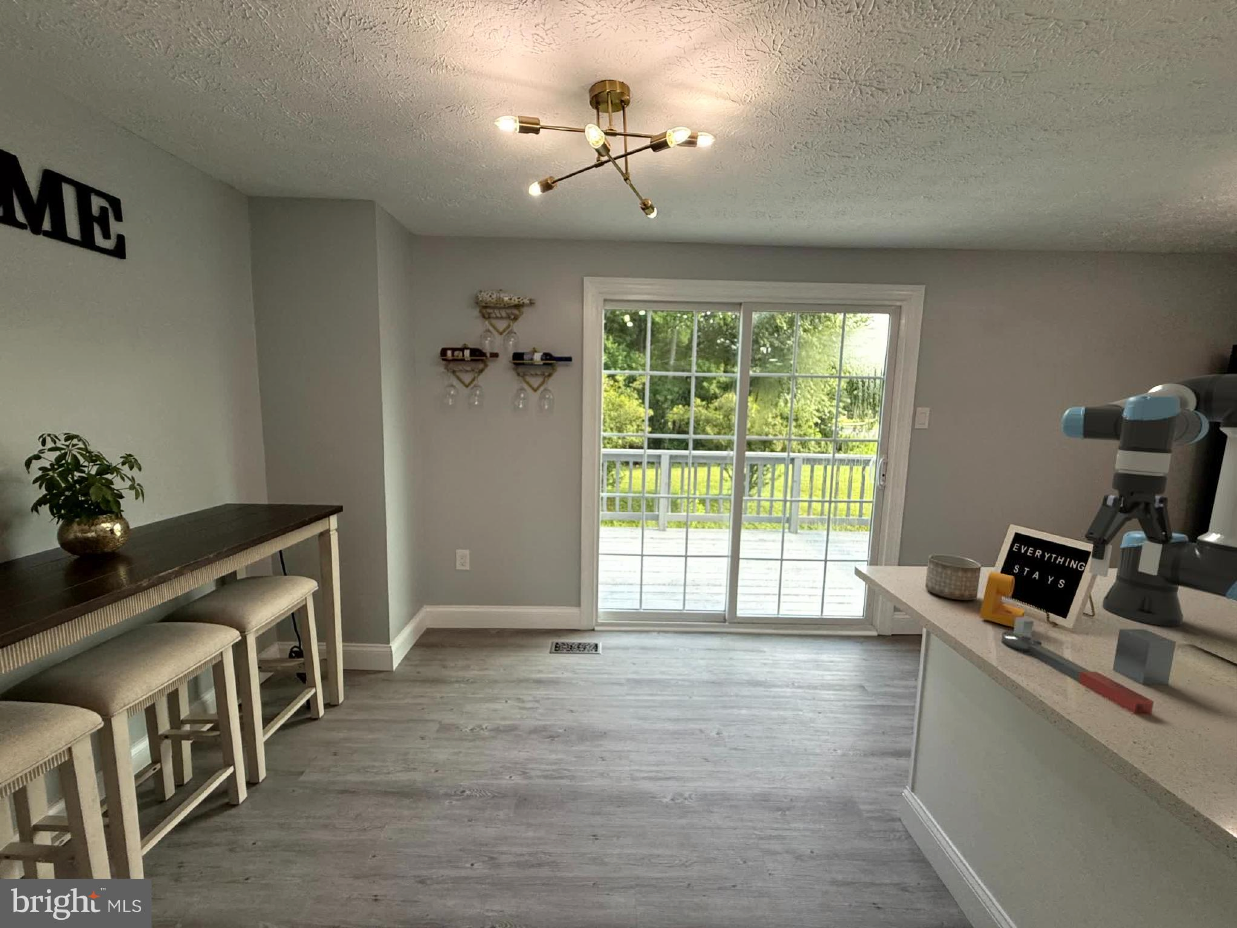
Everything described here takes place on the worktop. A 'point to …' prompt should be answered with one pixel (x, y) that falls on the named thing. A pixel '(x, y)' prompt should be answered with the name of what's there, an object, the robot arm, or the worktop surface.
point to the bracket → (999, 600)
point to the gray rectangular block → (1144, 656)
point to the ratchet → (1074, 669)
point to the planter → (953, 576)
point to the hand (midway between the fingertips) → (1122, 573)
